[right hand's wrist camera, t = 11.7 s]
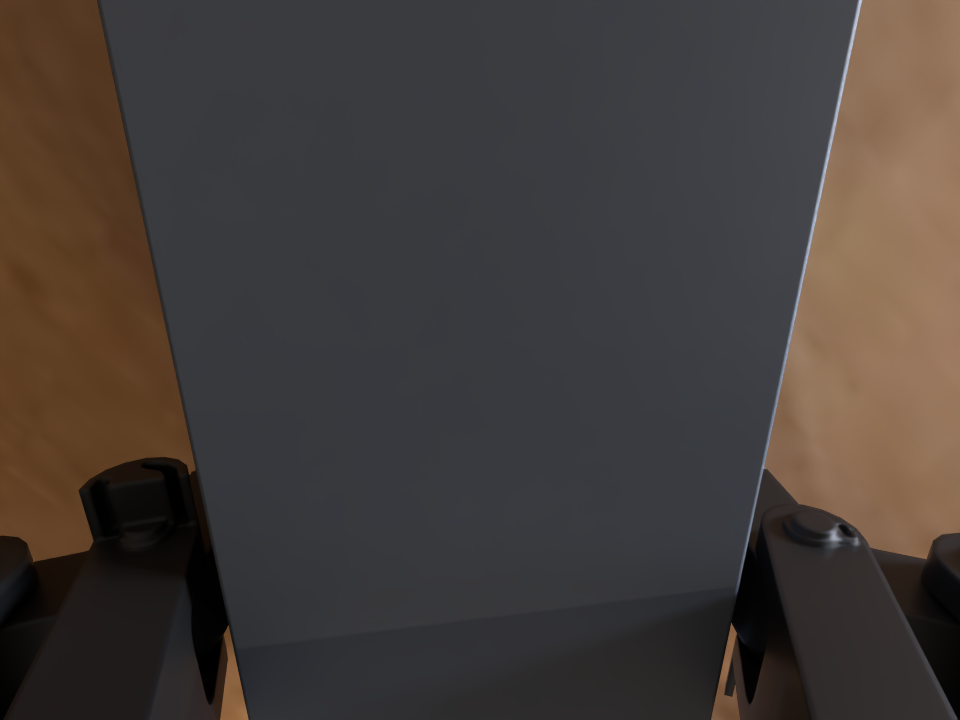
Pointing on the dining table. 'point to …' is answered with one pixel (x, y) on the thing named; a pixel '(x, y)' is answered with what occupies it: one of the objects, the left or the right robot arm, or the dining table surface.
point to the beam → (479, 330)
